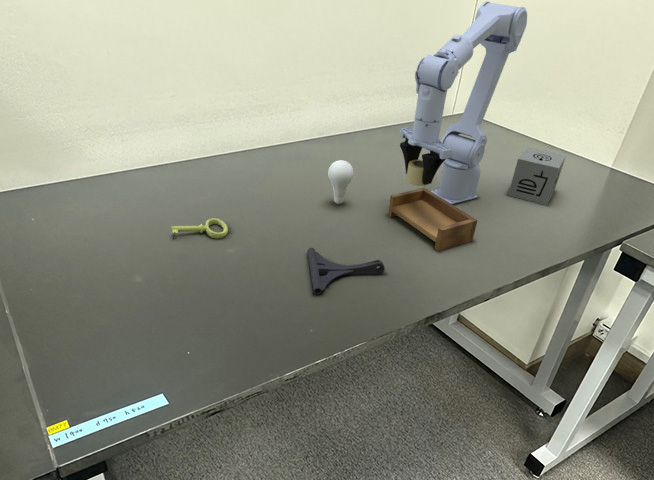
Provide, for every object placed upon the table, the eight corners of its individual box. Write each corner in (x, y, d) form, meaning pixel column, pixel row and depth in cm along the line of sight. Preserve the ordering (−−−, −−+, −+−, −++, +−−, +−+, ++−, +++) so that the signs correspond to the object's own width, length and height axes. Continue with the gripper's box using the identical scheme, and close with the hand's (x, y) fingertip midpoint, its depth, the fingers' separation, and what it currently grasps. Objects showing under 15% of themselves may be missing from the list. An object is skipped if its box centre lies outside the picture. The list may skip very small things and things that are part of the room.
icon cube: (546, 205, 136) (559, 168, 130) (507, 195, 140) (518, 158, 134) (554, 191, 143) (566, 155, 137) (516, 182, 147) (526, 147, 141)
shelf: (420, 206, 132) (424, 187, 129) (472, 240, 120) (477, 220, 117) (387, 215, 128) (390, 195, 125) (437, 251, 115) (442, 230, 112)
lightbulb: (348, 210, 129) (352, 167, 122) (324, 207, 130) (326, 164, 123) (352, 199, 133) (356, 157, 127) (328, 196, 134) (331, 154, 128)
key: (168, 234, 116) (167, 226, 114) (219, 221, 122) (219, 212, 120) (182, 249, 111) (181, 241, 110) (235, 234, 117) (234, 226, 116)
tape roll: (419, 174, 124) (422, 157, 121) (434, 183, 120) (438, 166, 118) (401, 178, 121) (403, 161, 119) (416, 187, 118) (419, 170, 115)
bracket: (390, 293, 102) (392, 281, 100) (313, 295, 100) (313, 282, 99) (376, 254, 113) (378, 242, 112) (307, 254, 112) (307, 243, 110)
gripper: (392, 110, 115) (385, 169, 124) (436, 131, 106) (425, 194, 114) (417, 106, 119) (408, 164, 127) (462, 126, 109) (450, 188, 117)
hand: (418, 178), depth 120 cm, fingers closed on tape roll, 5 cm apart
